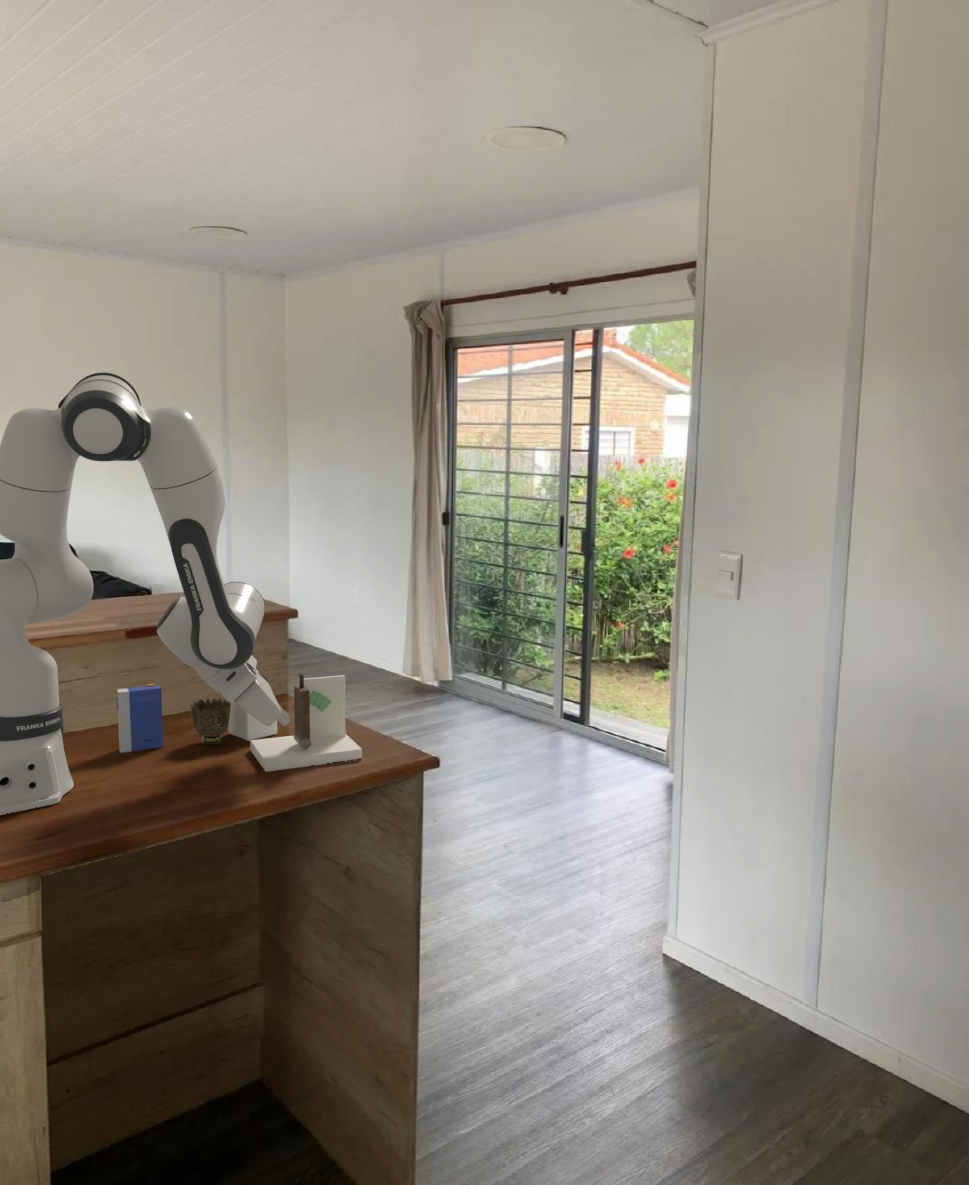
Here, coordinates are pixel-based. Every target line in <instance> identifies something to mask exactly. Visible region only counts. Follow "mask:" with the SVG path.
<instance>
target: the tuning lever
mask: <svg viewBox="0 0 969 1185" xmlns="http://www.w3.org/2000/svg"><path fill="white" fill-rule="evenodd" d="M298 677H299V684H294V685H293V693H294V694H293V697H294V698H293V704H294V707H293V708H294V715H293V716H294V733H293V735H294V739H295V740H296V742H297V743H298V744H299V745H300V746H301V747H302V748H303V749H308V748H309V747H310V746H311V741H310V690H309V689H307V688H306V687H305V686H304V679H305V674H304V673H299V674H298Z"/></svg>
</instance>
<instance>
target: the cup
mask: <svg viewBox="0 0 969 1185" xmlns="http://www.w3.org/2000/svg"><path fill="white" fill-rule="evenodd" d="M230 706H231V704H230V702H228V701H227V700H226V699H225V698H224V700H223V701H222V700H221V698H218V699H217V698H213V699H212V701H211V700H210V698H208V699H206V701H204V699H198V700H197V701H194V700H193V704H190V708H191V714H192V721H193V725H194V726H193V727H194V730H195V731H196V733H197V734H198V735H200V736H202V737H201V741H202V743H203V744H205V745H217V744H219V743H221V742H222V740H223V739H222V738H223V737H222V735H224V733H225V732H227V730H228V724H229V717H230Z"/></svg>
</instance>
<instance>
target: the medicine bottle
mask: <svg viewBox="0 0 969 1185" xmlns="http://www.w3.org/2000/svg"><path fill="white" fill-rule="evenodd" d="M259 675H260V676H262V677H263V678H264V679H265V680H266V681H267V682H268V681H269V680H268V677H267V676H265V675H263V674H260V673H259ZM268 683H269V682H268ZM230 704H231V706H230V717H229V724H228V728H227V730H228V734H230V735H232V736H235V737H238V738H240V739H242V740H245V741H248V742H250V740H258V739H263V738H266V737H270V736H274V735H277V734H278V721H277V720H276V721H275V722H274V723H273V724H272V725H271V726H266V725H264V724H262V723H261V722H259V721H258V720H257V719H255V718H254V717H253V716H251V715H250V714H249V713H247V712H246V711H245V710H243V709H242V708H241V707H240V706H238V705H237V704H236V703H235V702H234V701H233V702H232V703H230Z"/></svg>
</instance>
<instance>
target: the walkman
mask: <svg viewBox="0 0 969 1185" xmlns="http://www.w3.org/2000/svg"><path fill="white" fill-rule="evenodd" d="M162 697H163V696H162V687H161V686H160V685H159V684H156V685H155V684H154V683H150V684H146V686H145V685H144V686H137V687H128V688H117V690H116V697H115V702H116V705H115V706H116V711H117V720H118V722H117V724H118V743H119V745H118V746H119V752H120V753H121V754H122V753H130V752H135V751H136V752H137V751H144V750H151V749H158V748H164V735H163V734H164V730H163V729H164V728H163V702H162V701H163V699H162Z"/></svg>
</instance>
